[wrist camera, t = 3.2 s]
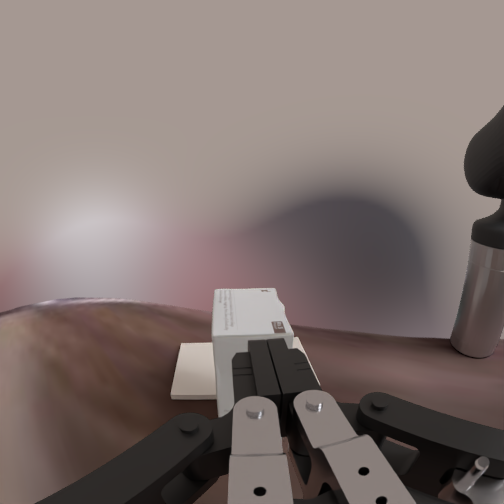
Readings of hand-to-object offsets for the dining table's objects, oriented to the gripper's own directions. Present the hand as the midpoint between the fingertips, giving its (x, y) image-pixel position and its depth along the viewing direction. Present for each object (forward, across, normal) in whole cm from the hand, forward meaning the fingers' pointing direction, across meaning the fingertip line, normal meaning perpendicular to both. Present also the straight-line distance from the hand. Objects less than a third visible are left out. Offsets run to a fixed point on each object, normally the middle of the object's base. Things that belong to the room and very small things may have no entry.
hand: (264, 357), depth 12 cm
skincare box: (+11, 0, +17) cm, 20 cm away
